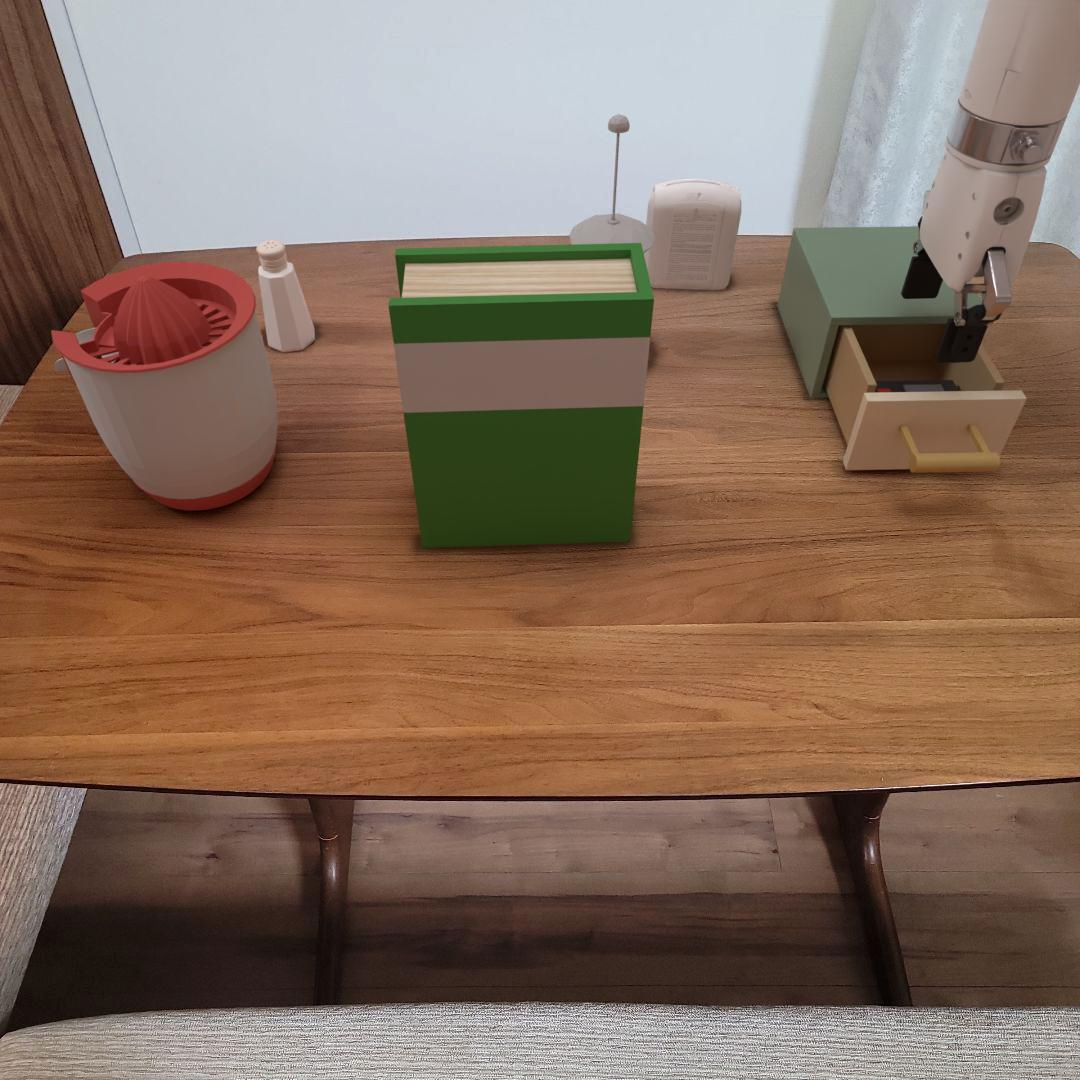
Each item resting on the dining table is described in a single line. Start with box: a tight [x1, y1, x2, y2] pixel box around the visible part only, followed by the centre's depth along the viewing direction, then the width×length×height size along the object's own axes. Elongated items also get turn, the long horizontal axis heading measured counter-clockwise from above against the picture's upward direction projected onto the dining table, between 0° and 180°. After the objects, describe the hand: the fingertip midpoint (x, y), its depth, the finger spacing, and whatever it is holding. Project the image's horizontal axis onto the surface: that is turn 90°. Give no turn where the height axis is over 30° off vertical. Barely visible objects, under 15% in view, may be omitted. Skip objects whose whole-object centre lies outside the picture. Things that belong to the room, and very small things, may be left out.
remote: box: [874, 380, 958, 393], centre depth 87 cm, size 9×4×3 cm, turn 91°
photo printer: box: [644, 177, 742, 291], centre depth 103 cm, size 10×4×12 cm, turn 86°
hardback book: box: [387, 243, 655, 549], centre depth 73 cm, size 18×7×24 cm, turn 92°
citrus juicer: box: [50, 261, 279, 512], centre depth 79 cm, size 16×17×20 cm
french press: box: [568, 113, 655, 253], centre depth 88 cm, size 10×12×25 cm
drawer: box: [823, 324, 1027, 474], centre depth 85 cm, size 21×14×8 cm, turn 1°
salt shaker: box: [255, 239, 316, 353], centre depth 96 cm, size 5×5×11 cm
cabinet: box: [776, 225, 982, 399], centre depth 95 cm, size 17×15×10 cm
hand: (935, 327), depth 81 cm, fingers open, 9 cm apart
